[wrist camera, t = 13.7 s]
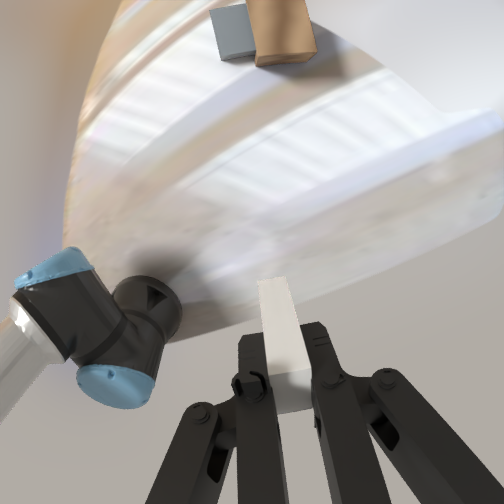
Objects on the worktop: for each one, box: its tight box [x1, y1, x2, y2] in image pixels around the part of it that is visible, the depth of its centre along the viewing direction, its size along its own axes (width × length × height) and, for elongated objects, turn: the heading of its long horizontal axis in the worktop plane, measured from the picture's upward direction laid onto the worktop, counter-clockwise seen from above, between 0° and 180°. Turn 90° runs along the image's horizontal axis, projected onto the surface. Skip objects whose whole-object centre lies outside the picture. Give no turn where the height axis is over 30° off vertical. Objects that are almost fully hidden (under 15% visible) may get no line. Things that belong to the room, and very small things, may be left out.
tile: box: [209, 4, 256, 61], centre depth 33 cm, size 12×9×3 cm
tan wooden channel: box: [246, 0, 317, 67], centre depth 30 cm, size 8×15×7 cm, turn 9°
